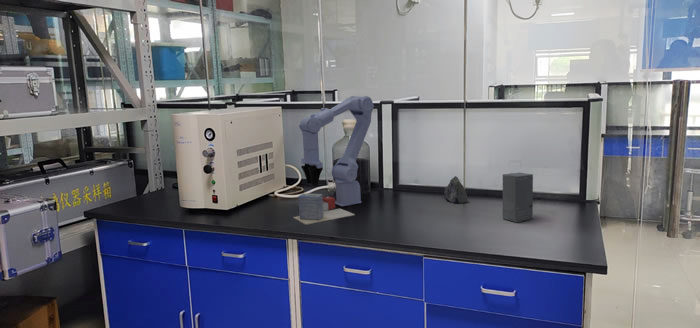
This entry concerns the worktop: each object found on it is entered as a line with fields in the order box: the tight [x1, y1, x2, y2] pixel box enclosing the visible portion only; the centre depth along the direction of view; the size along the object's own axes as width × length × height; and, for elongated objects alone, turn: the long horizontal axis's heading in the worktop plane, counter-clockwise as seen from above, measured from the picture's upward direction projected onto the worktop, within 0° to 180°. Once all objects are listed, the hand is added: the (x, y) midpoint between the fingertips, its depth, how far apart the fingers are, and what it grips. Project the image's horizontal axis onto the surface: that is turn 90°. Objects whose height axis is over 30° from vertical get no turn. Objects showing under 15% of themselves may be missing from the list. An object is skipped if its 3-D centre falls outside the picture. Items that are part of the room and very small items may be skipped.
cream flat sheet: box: [292, 208, 356, 226], centre depth 181 cm, size 20×11×1 cm, turn 120°
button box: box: [323, 201, 329, 212], centre depth 190 cm, size 8×8×3 cm
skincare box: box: [502, 172, 534, 224], centre depth 168 cm, size 8×7×16 cm
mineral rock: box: [443, 175, 468, 204], centre depth 198 cm, size 13×11×10 cm
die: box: [323, 196, 336, 211], centre depth 193 cm, size 4×4×4 cm
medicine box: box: [297, 193, 324, 220], centre depth 178 cm, size 8×4×9 cm, turn 71°
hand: (312, 184), depth 188 cm, fingers open, 4 cm apart
